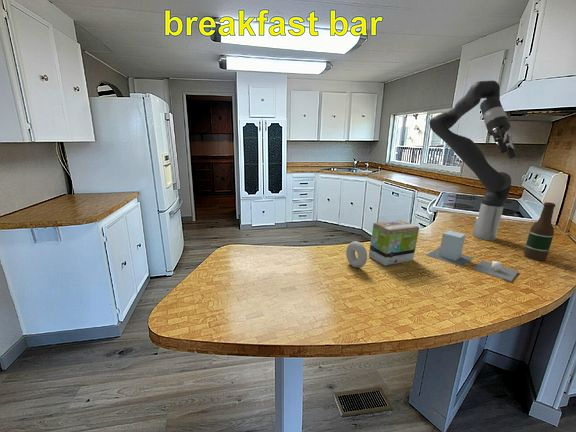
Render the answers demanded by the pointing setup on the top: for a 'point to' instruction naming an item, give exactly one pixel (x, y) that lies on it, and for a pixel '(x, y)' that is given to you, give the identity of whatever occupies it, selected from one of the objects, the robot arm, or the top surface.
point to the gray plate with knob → (496, 270)
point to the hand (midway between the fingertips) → (509, 155)
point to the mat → (460, 262)
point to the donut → (361, 254)
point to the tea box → (393, 242)
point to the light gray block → (452, 245)
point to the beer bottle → (540, 235)
